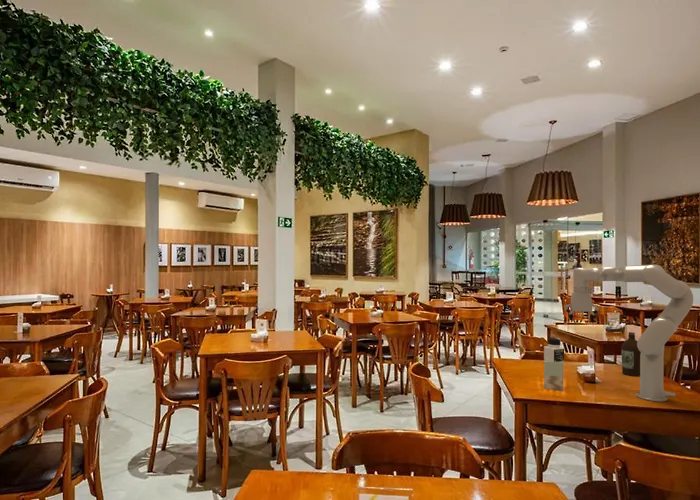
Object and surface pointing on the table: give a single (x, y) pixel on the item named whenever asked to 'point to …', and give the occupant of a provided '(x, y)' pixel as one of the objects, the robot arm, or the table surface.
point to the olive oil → (630, 356)
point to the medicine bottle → (554, 351)
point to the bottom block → (553, 382)
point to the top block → (553, 368)
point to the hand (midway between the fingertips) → (581, 322)
